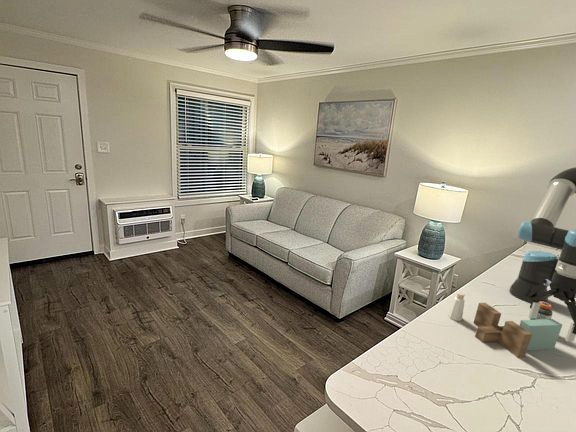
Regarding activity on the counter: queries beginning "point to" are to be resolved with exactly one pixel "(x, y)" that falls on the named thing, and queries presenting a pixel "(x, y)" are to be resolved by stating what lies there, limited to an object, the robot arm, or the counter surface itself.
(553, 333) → the teal block
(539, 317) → the pill bottle
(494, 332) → the walnut joint base
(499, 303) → the counter surface
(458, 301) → the pepper shaker
